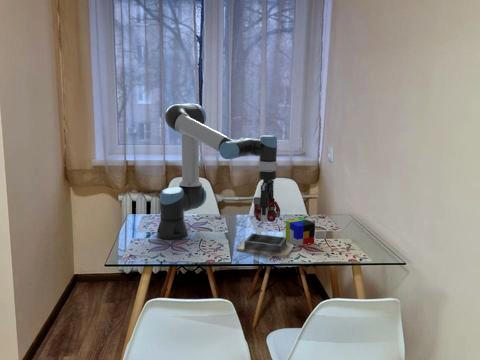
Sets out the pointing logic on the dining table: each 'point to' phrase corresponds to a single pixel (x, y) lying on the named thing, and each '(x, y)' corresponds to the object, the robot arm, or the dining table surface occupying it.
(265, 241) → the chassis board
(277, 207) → the toy fire truck
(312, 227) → the puzzle toy
